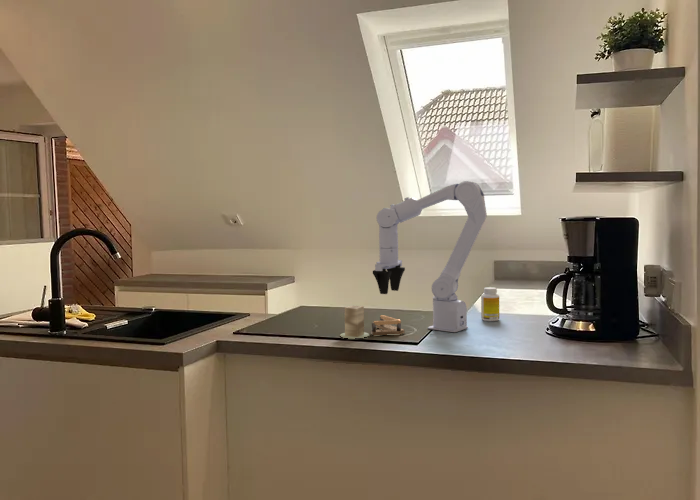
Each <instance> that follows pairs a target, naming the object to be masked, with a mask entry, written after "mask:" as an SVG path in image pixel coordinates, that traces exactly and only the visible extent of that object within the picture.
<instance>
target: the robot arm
mask: <svg viewBox="0 0 700 500" xmlns="http://www.w3.org/2000/svg"><path fill="white" fill-rule="evenodd" d="M448 200H449V201H458V202H459V203H460V204H461V205H462V206H463V207H464V211H465V212H466V214H467V219H466V221H465V223H464V226H463V227H462V230H461V232H460V234H459V237H458V239H457V241H456V243H455V246H454V247H453V249H452V252H451V254H450V256H449V258H448V261H447V262H446V265H445V266H444V268H443V270H442V271H441V273H440V275H439V277H438V278H436V279H435V280H434V281H433V282H432V284H431V292H432V294H433V296H432V319H433V321H432V325H430V326H427V327H426V328H427V329H428V330H436V331H440V332H441V331H442V332H449V333H457V332H460V331H463V330H466V329H468V328H469V326H468V325H467V324H468V320H467V310H468V309H467V305H466V302H465V301H464V300H460V299H458V295H457V294H456V292H457V290H458V287H459V279H460V276H461V272H462V270H463V268H464V266H465V264H466V262H467V259H468V258H469V256H470V253H471V251H472V249H473V246H474V244H475V243H476V240H477V239H478V236H479V234H480V232H481V230H482V228H483V225H484V224H485V222H486V219H487V209H486V208H487V207H486V201H485V193H484V191H483V190H482V188H481V187H480V185H479V184H478V183H477V182H473V181H469V180H463V181H461V182H460V183H455V184H454V183H453V184H450V185H447V186H445V187H442V188H440V189H438V190H437V191H434V192H432V193H429V194H427V195H425V196H423V197H421V198H418V199H417V198H416V197H409V196H408V197H405V198H404V200H403V201H401V202H398V203H396V204H395V203H391V204H390V206H389V207H390V208H389V207H383V208H382V209H381V210H379V211H378V212H377V215H376V222H377V224H378V228H379V229H378V243H379V244H378V245H379V248H378V250H379V255H378V257H379V261H376V263H375V264H374V268H375V269H374V270H372V274H373V277H375V280H376V282H377V286H378V290H379V293H380V295H388V292H389V286H390V289H391V291H394V292H395V291H397V292H398V291H399V289H400V286H401V281H402V277H403V275H404V272H405V270H406V267H404V266H403V260H402V259H399V232H398V231H399V230H398V224H399V223H400V224H401V223H404V222H407V221H409V220H412V219H413V218H416V217H418V216H420V215H421V214H422V211H423V210H424V209H427V208H430V207H431V206H434V205H438V204H439V203H442V202H445V201H448ZM389 283H390V285H389Z"/></svg>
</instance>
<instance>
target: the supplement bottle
mask: <svg viewBox="0 0 700 500" xmlns="http://www.w3.org/2000/svg"><path fill="white" fill-rule="evenodd" d="M480 302H481V303H480V304H481V307H480V308H481V309H480V311H481V314H480V315H481V320H483V321H484V322H497V321H499V320H500V294H499V293H498V289H497V287H493V286H492V287H490V286H488V287H484V288H483V293H482V294H481V298H480Z"/></svg>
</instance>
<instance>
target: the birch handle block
mask: <svg viewBox="0 0 700 500" xmlns="http://www.w3.org/2000/svg"><path fill="white" fill-rule="evenodd" d="M364 307H365V306H363V305H362V306H361V305H349V306H346V307H345V306H344V333H345V336H353V337H358V336H361V335H363V334H364V332H365V315H364V314H365V309H364Z"/></svg>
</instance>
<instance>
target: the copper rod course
mask: <svg viewBox="0 0 700 500" xmlns="http://www.w3.org/2000/svg"><path fill="white" fill-rule="evenodd" d="M395 325H396V326H395ZM377 328H379V329H377ZM380 329H382V330H380ZM402 333H404V334H405V329H403V328H402V320H401V319H397V318H394V317H391V316H388V315H384V314H381V315H380V316H379V320H373V322H371V330H370V335H371V334H372V335H387V334H402ZM372 335H371V336H372ZM402 335H403V334H402Z"/></svg>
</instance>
